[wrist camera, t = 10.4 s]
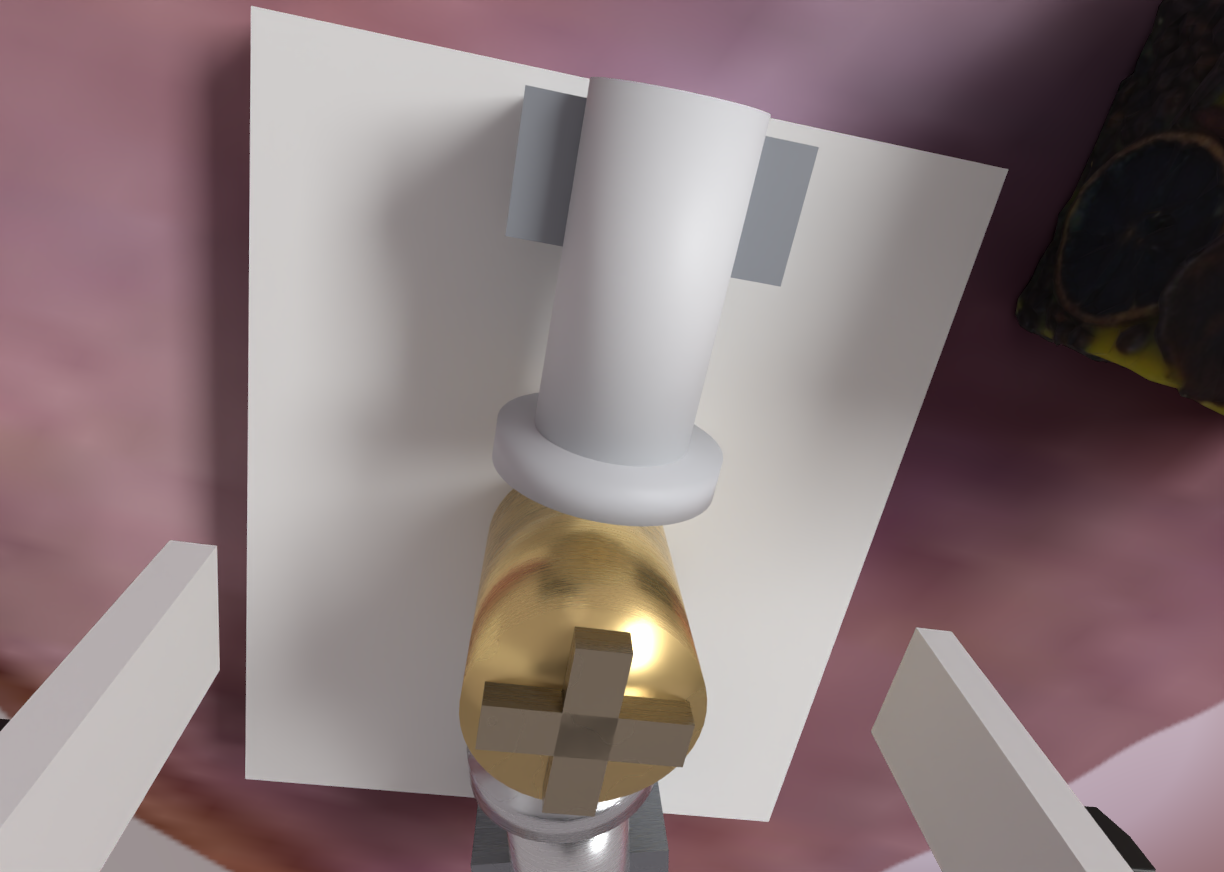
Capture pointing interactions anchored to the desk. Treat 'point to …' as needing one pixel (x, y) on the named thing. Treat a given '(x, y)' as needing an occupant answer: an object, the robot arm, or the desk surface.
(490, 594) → the coupler
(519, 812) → the shaft out
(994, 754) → the robot arm
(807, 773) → the desk surface
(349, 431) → the shaft base
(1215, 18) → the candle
